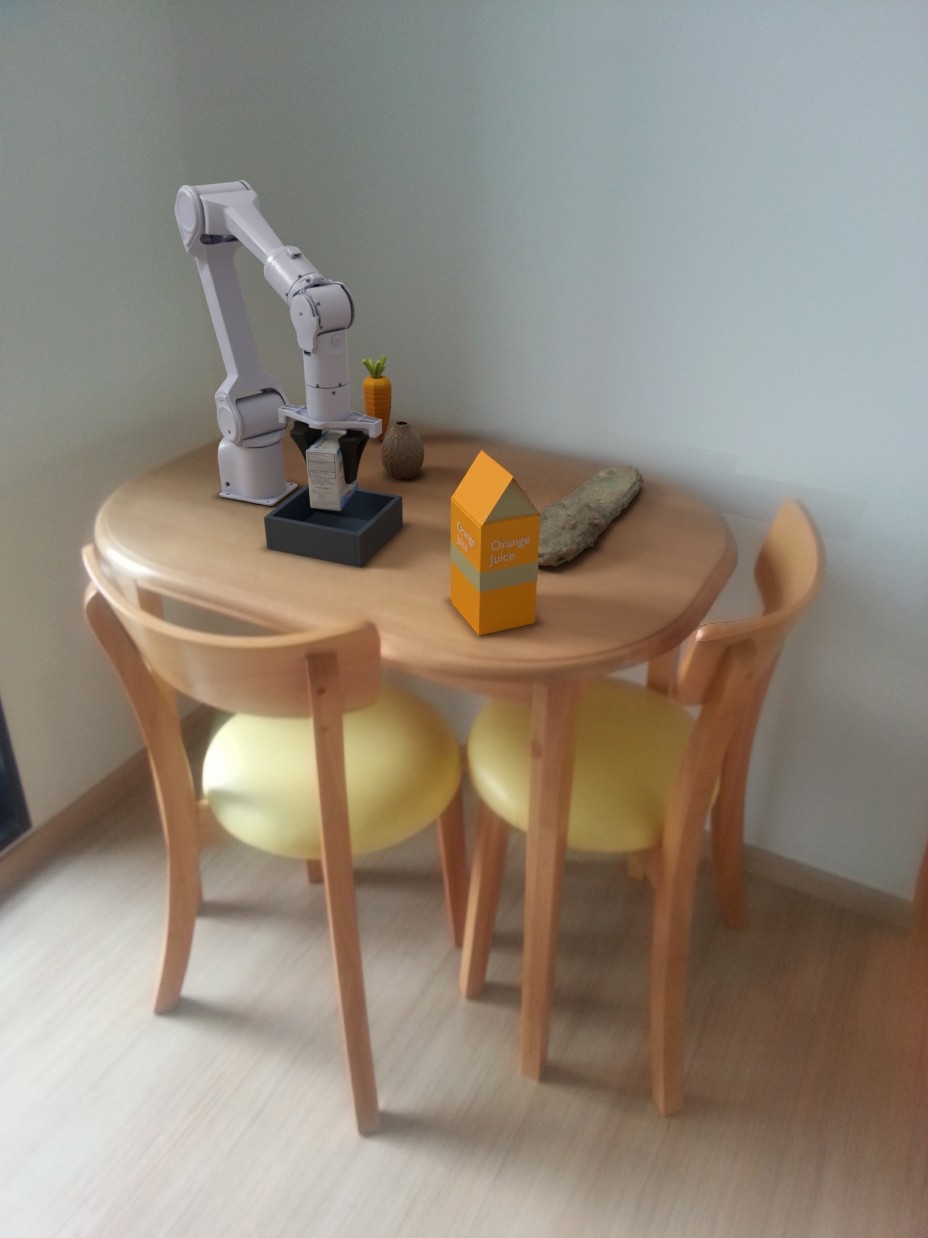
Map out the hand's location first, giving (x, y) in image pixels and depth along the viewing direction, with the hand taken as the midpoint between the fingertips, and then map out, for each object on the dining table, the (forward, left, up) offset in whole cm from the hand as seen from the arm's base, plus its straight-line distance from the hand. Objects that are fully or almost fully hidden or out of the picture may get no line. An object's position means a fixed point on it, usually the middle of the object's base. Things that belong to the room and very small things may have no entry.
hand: (333, 478), depth 133 cm
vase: (0, +24, -9) cm, 25 cm away
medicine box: (0, 0, -3) cm, 3 cm away
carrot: (-10, +36, -9) cm, 38 cm away
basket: (0, 0, -9) cm, 9 cm away
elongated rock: (+32, +18, -9) cm, 37 cm away
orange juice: (+28, -11, -9) cm, 31 cm away
